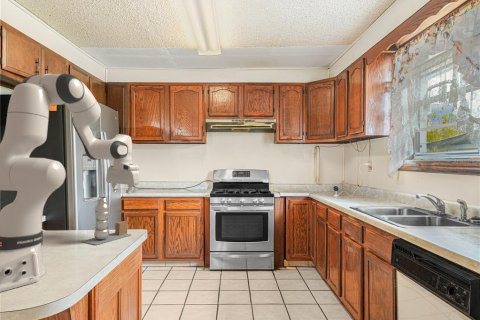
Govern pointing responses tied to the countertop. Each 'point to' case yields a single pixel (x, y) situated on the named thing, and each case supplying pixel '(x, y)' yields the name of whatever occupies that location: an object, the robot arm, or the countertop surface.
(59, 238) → the countertop surface
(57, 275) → the countertop surface
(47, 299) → the countertop surface
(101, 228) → the plastic bottle
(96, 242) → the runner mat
